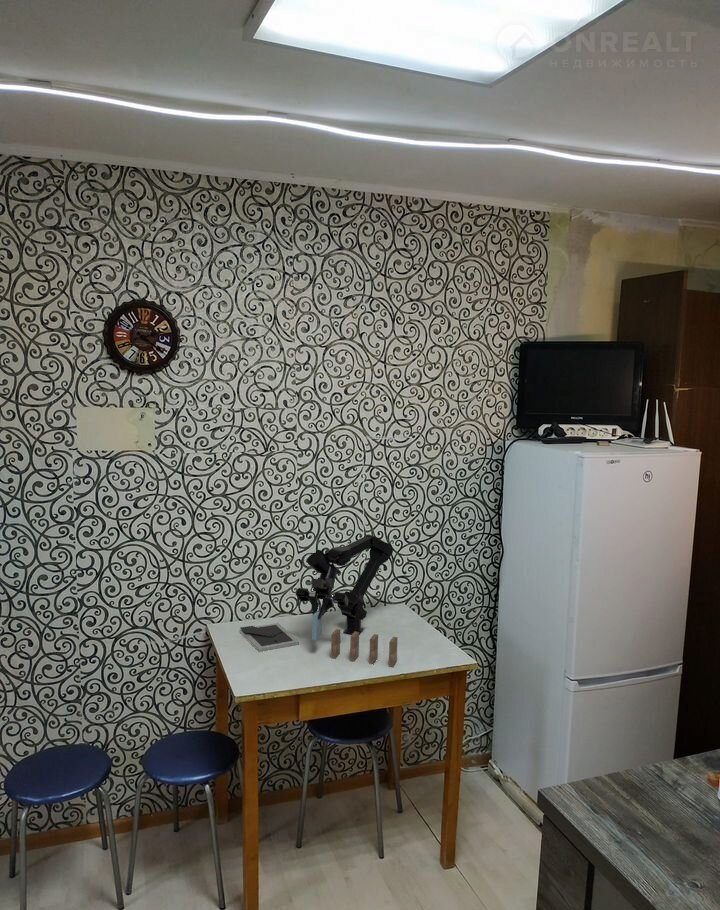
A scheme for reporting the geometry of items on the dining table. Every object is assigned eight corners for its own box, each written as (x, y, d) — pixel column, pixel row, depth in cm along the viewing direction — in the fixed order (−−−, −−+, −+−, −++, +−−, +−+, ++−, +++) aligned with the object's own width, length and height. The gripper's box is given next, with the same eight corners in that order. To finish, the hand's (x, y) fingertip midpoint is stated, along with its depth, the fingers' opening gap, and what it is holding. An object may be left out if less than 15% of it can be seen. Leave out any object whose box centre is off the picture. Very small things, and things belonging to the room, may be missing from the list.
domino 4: (369, 664, 244) (369, 639, 243) (373, 658, 249) (373, 633, 248) (373, 664, 244) (374, 639, 243) (377, 659, 249) (378, 634, 248)
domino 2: (331, 658, 248) (331, 633, 247) (335, 652, 253) (336, 628, 252) (335, 659, 248) (335, 634, 247) (340, 653, 253) (340, 629, 252)
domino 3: (350, 661, 246) (350, 636, 245) (354, 655, 251) (354, 631, 250) (354, 661, 246) (354, 637, 245) (358, 656, 251) (359, 632, 250)
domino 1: (312, 639, 249) (312, 615, 248) (317, 635, 254) (317, 610, 253) (316, 640, 249) (316, 615, 248) (321, 635, 253) (321, 611, 253)
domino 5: (388, 666, 242) (389, 641, 241) (392, 661, 247) (393, 636, 246) (393, 667, 242) (393, 642, 241) (396, 661, 247) (397, 637, 246)
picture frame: (239, 634, 271) (258, 654, 253) (239, 627, 270) (258, 646, 252) (278, 627, 278) (299, 646, 260) (278, 621, 278) (299, 639, 260)
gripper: (297, 566, 255) (285, 605, 246) (346, 571, 250) (335, 611, 241) (305, 580, 264) (293, 619, 255) (352, 586, 258) (342, 625, 249)
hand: (316, 618), depth 250 cm, fingers closed on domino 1, 2 cm apart
